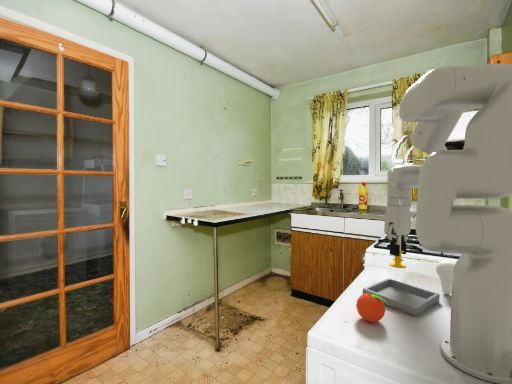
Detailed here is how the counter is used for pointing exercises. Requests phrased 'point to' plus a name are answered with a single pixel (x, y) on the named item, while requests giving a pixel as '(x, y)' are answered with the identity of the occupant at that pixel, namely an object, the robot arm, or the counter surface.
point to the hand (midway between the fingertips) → (398, 253)
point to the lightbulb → (445, 275)
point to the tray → (404, 296)
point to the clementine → (371, 307)
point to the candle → (398, 259)
